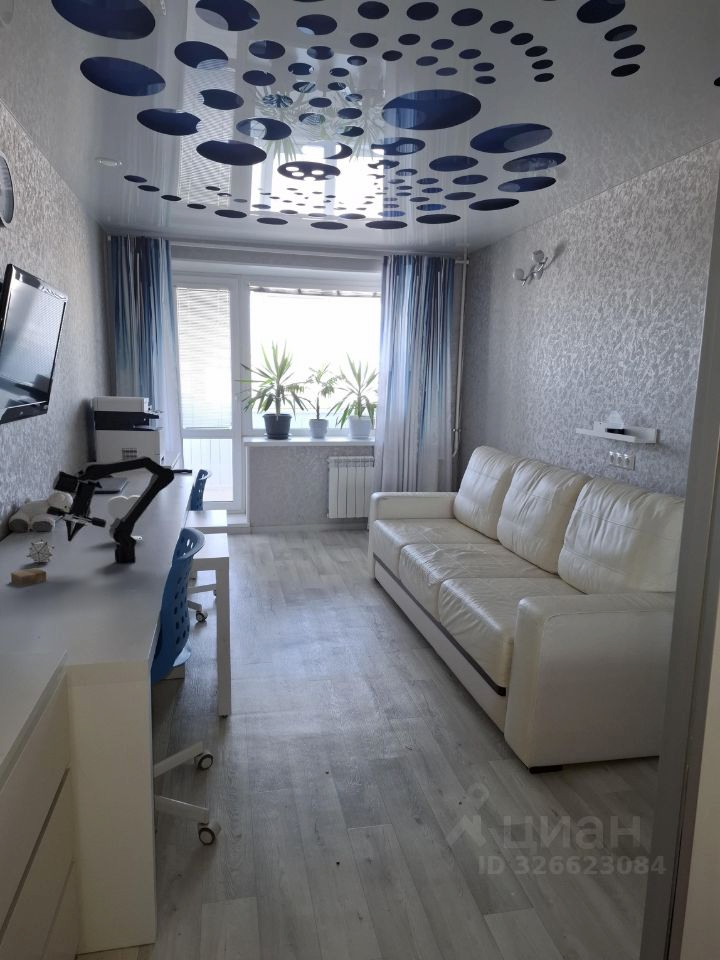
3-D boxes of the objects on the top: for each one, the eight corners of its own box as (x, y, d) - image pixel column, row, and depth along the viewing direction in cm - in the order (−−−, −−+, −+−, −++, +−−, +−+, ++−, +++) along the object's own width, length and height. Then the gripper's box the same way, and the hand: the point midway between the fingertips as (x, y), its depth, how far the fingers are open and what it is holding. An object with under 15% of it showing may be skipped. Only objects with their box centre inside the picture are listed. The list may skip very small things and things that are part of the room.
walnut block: (35, 567, 216) (10, 572, 209) (46, 571, 212) (21, 577, 205) (36, 576, 216) (11, 582, 210) (46, 580, 212) (21, 586, 206)
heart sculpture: (108, 541, 263) (106, 497, 261) (109, 538, 268) (107, 495, 265) (148, 538, 268) (147, 496, 265) (148, 536, 273) (147, 494, 270)
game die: (37, 574, 231) (17, 555, 225) (41, 559, 238) (22, 541, 232) (59, 562, 230) (39, 543, 225) (62, 548, 237) (43, 529, 232)
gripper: (114, 506, 233) (101, 548, 231) (61, 492, 230) (47, 535, 227) (109, 504, 222) (95, 548, 220) (53, 489, 219) (38, 534, 216)
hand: (69, 541), depth 221 cm, fingers closed
